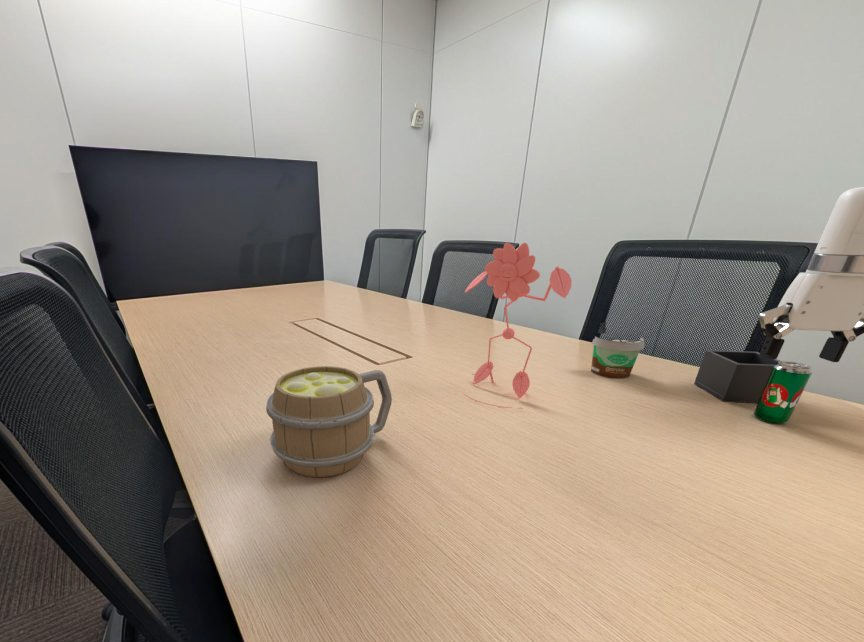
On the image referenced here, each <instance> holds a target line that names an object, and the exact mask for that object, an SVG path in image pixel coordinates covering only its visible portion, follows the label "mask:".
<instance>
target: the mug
mask: <svg viewBox="0 0 864 642" xmlns="http://www.w3.org/2000/svg"><path fill="white" fill-rule="evenodd" d="M374 381H376V383H377V386H378V389H379V392H380V395H381V403H380V406H379V410H378V414H377V417H376V421H375V422H374V423H373V424H371V416H370V415H371V414H370V413H371V411H372V410H373V408H374V405H375V401H374V396H373V393H372V392H371V390H370V389H368V388H367V387H366V385H365V383H366V384H367V383H370V382H374ZM273 389H274V390H273V393H272V394H271V395H269V396H268V398H267V401H266V408H265V410H266V414H267V415H268V417H269V418H270V419H271V420H272V421H271V423H272V430H273V431H272V432H271V435H270V438H269V440H270V441H269V442H270V446H271V448H272V451H273V453H274V454H275V455H276V456H277V457H278V458H279V459H281V460H282V461H283V463H284V464H285V465H286V467H287V468H288V469H289V470H291V471H292V472H294V473H296V474H298V475H301V476H305V477H309V478H310V477H311V478H329V477H334V476H335V477H336V476H338V475H343V474H344V473H346V472H349V471H350V470H352V469H354V468H355V467H357V465H359V463H360V462H361V461H362V460H363V457H364V454H365V453H367V452H368V450H369V449H370V448H371V447H372V445H373V442H374V439H375V434H377V433H380V432H381V431H382V430H383V429H384V428H385V426H386V423H387V420H388V416H389V414H390V409H391V406H392V403H393V398H392V397H393V396H392V393H391V389H390V385H389V382H388V380H387V377H386V373H385V372H383V371H382V370H380V369H374V370H371V371H366V372H362V373H358V372H356V371H354V370H352V369H350V368H346V367H339V366H331V365H330V366H329V365H326V366H325V365H324V366H323V365H320V366H318V365H317V366H310V367H309V366H308V367H304V368H299V369H295V370H292V371H289V372H287V373H284V374H283V375H281V376H280V377H278V379H277V380H276V383H275V386H274V388H273Z"/></svg>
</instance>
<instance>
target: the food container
mask: <svg viewBox="0 0 864 642" xmlns="http://www.w3.org/2000/svg"><path fill="white" fill-rule="evenodd" d="M639 338H640V339H639V340H637V339H636V340H628V339H621V338H613V339H603V338H600V337H598V336H594V338H593V339H592V342H591V345H593V348H592V360H591V367H590V372H591V373H593V374H596V375H597V376H601V377H605V378H611V379H627V378H629V377H630V376H631V373H632V371H633V368H634V366H635V363H636V361H637V358H638V356H639V354H640V351H642V350H644V349H645V340H644V338H643V337H639Z"/></svg>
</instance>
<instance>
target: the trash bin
mask: <svg viewBox="0 0 864 642" xmlns="http://www.w3.org/2000/svg"><path fill="white" fill-rule="evenodd" d="M781 361H782V360H780V359H778V358H777V359H769V358H766V357H764V356H761V355H760V352H758V351H746V350H745V351H744V350H743V351H740V350H714V349H713V350H710V349H708V350H707V349H705V351H704V354H703V357H702V359H701V363H700V365H699V368H698V371H697V373H696V377H695V380H694V385H695V386H697V387H698V388H700V389H701V390H703V391H704V392H707V393H708V394H710V395H711V396H713V397H715V398H717V399H718V400H720V401H722V402H725V403H728V402H729V403H748V404H749V403H750V404H758V401H759V399H760V397H761V394H762V392H763V390H764V387H765V385H766V383H767V381H768V378H769V376H770V374H771V371H772V369H773V367H774V366H776V365H777V364H778V362H781Z"/></svg>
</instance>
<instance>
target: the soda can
mask: <svg viewBox="0 0 864 642" xmlns="http://www.w3.org/2000/svg"><path fill="white" fill-rule="evenodd" d="M780 361H781V362H778V364H777V365H776V366H774V367H773V369H772V371H771V374H770V376H769V378H768V381H767V383H766V385H765V387H764V390H763V392H762V394H761V397H760V399H759V401H758V403H756V406H755V408H754V411H753V415H754V417H755V418H756V419H758V420H760V421H761V422H765V423H768V424H773V425H774V424H775V425H784V424H787V423H789V422H790V420H791V418H792V415H793V413H794V411H795V409H796V407H797V405H798V402H799V401H800V399H801V397H802V395H803V393H804V390H805V389H806V386H807V384H808V383H809V380H810V378H811V376H812V374H813V373H812V370H811V369H812V366H811V365H808V364H804V363H801V362H795V361H787V360H786V361H785V360H783V361H782V360H780Z"/></svg>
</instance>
